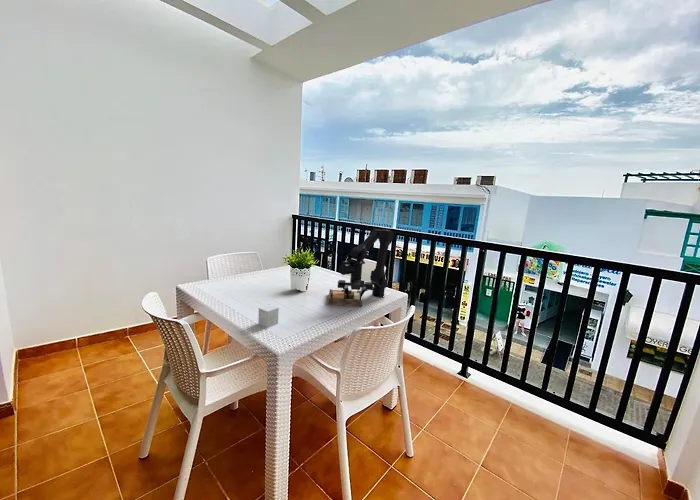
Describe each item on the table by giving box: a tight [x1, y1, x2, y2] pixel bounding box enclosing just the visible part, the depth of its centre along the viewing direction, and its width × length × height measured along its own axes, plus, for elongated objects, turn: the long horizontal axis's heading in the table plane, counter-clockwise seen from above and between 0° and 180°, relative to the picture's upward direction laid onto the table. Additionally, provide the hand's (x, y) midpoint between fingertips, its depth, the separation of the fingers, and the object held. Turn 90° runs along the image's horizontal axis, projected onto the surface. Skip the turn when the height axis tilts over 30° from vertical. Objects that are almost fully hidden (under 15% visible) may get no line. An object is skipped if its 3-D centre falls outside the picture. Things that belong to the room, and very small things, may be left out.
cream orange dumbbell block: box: [333, 291, 360, 300], centre depth 149 cm, size 14×6×4 cm, turn 91°
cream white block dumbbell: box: [330, 286, 358, 295], centre depth 156 cm, size 14×6×4 cm, turn 91°
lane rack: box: [327, 288, 363, 307], centre depth 153 cm, size 18×16×3 cm
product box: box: [257, 303, 280, 329], centre depth 118 cm, size 6×6×7 cm
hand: (353, 300), depth 149 cm, fingers closed on cream orange dumbbell block, 6 cm apart
